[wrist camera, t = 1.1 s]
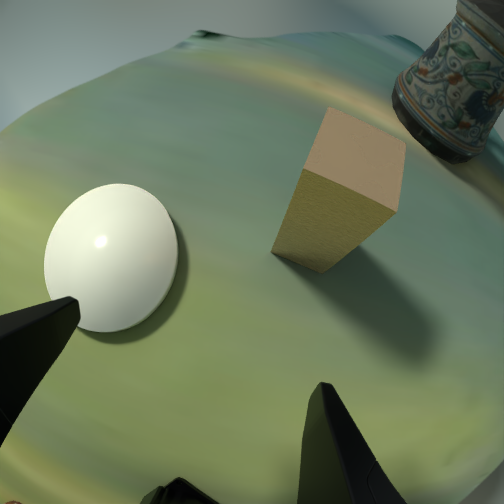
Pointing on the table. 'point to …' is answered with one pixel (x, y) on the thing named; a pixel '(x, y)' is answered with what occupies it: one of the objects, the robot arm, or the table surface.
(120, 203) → the cream plate
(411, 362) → the table surface
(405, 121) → the beer stein
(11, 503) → the food container
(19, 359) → the robot arm
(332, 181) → the tan tall block
